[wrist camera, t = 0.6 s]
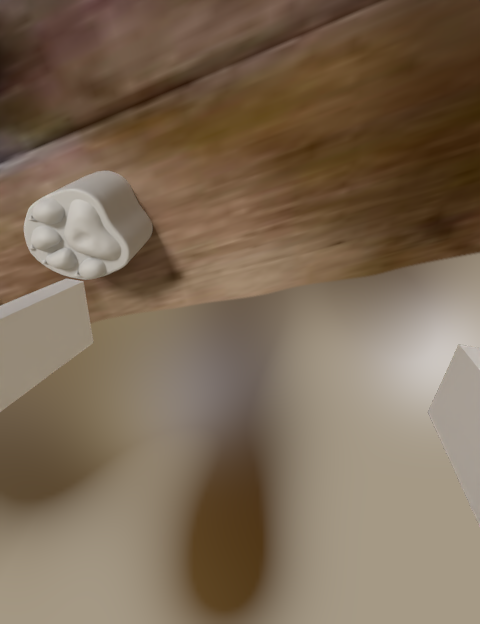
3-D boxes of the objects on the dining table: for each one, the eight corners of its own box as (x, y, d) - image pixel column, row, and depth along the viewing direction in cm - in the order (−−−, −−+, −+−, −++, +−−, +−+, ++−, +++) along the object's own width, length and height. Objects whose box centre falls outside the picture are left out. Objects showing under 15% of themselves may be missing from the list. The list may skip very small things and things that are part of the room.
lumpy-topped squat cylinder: (161, 238, 41) (135, 271, 34) (91, 264, 45) (55, 297, 39) (115, 160, 35) (73, 181, 29) (40, 198, 40) (-11, 223, 33)
